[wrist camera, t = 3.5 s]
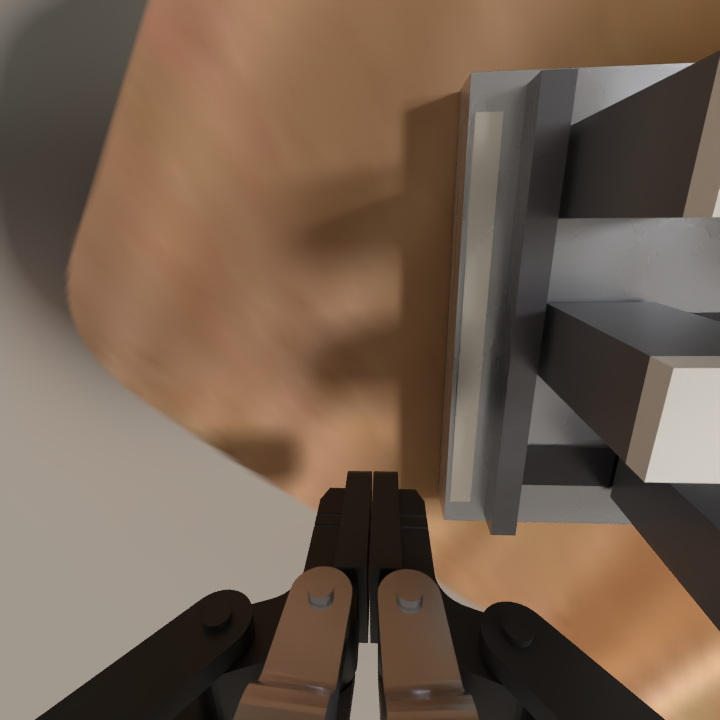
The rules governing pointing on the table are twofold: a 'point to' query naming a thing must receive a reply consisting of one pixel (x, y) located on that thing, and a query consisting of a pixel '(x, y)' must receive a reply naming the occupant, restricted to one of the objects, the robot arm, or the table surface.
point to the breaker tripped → (677, 530)
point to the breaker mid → (640, 383)
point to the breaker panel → (542, 295)
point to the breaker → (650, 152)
